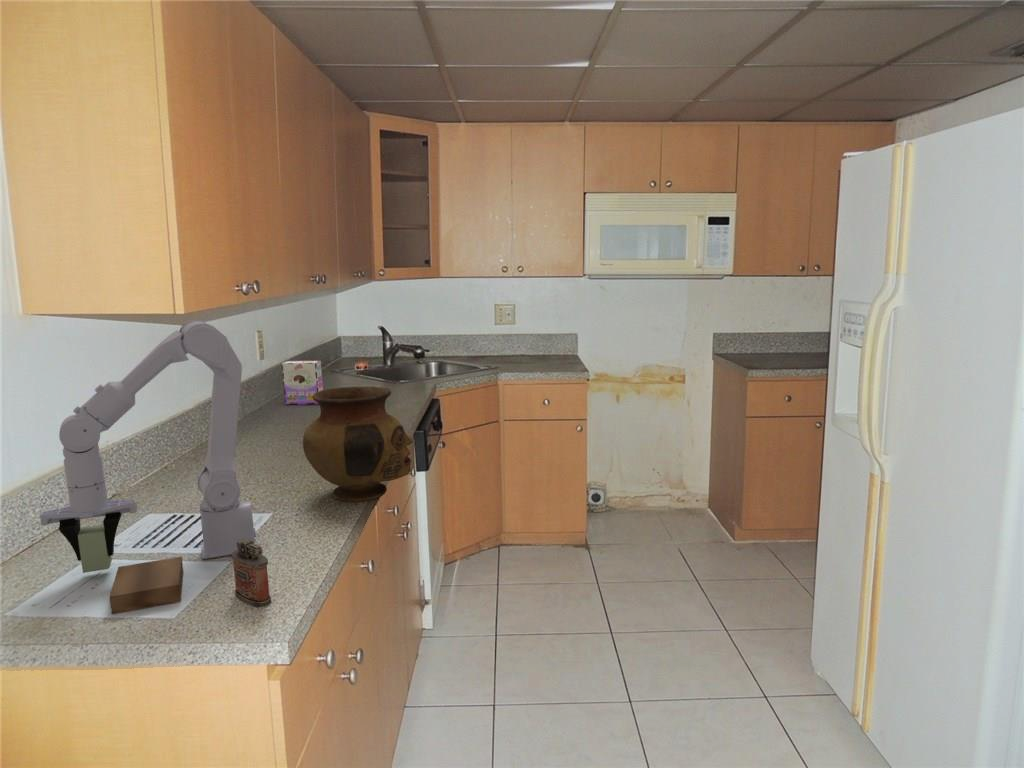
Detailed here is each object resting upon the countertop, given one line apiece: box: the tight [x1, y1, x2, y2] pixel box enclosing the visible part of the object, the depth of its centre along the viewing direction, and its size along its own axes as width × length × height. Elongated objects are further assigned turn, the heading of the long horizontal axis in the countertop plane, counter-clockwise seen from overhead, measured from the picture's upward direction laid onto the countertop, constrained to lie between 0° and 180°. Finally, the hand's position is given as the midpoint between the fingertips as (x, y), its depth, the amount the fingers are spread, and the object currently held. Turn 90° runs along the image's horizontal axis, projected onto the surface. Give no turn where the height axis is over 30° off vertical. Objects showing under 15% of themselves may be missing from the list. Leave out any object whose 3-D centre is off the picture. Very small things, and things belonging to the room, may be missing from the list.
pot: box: [302, 386, 414, 503], centre depth 166 cm, size 25×24×25 cm
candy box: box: [281, 360, 324, 405], centre depth 272 cm, size 14×6×16 cm, turn 84°
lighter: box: [231, 539, 272, 609], centre depth 116 cm, size 8×3×10 cm, turn 52°
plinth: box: [108, 556, 184, 615], centre depth 119 cm, size 10×12×3 cm
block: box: [78, 523, 113, 574], centre depth 125 cm, size 4×4×7 cm
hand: (96, 556), depth 125 cm, fingers closed on block, 4 cm apart
